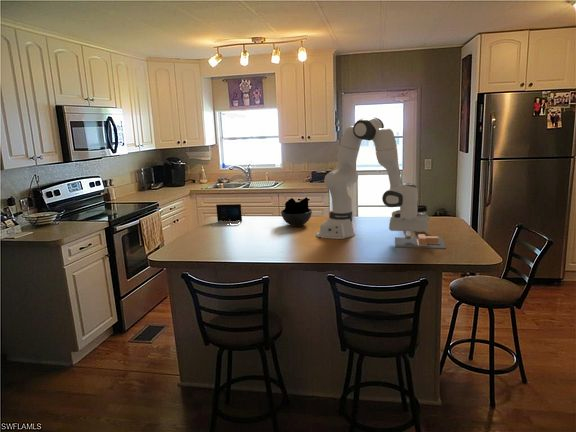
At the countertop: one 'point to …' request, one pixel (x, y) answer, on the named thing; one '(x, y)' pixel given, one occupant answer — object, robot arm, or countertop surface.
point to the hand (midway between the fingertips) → (408, 238)
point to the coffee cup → (421, 212)
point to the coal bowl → (296, 212)
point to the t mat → (417, 243)
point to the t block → (427, 239)
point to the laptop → (228, 214)
